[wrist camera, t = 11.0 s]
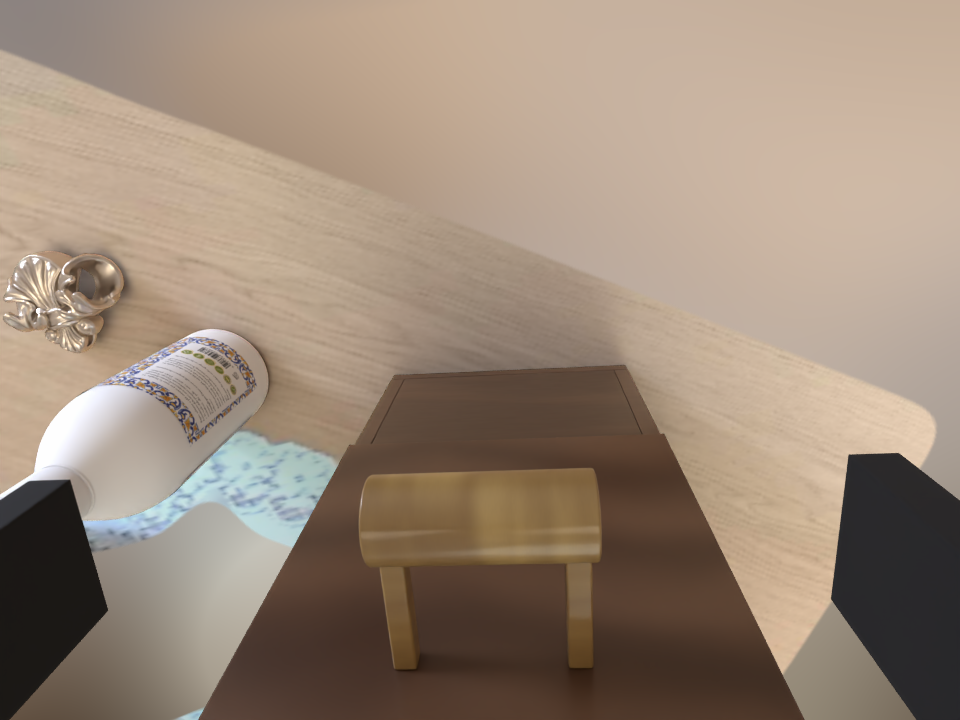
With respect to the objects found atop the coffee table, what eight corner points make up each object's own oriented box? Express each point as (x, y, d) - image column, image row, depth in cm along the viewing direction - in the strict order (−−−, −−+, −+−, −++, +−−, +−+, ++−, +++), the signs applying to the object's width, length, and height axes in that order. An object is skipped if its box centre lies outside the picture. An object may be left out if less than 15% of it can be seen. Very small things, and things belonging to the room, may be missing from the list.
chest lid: (809, 758, 16) (842, 522, 13) (195, 757, 17) (132, 540, 15) (663, 447, 31) (667, 315, 29) (351, 458, 33) (332, 332, 30)
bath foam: (181, 313, 43) (-82, 438, 24) (279, 343, 44) (95, 489, 25) (167, 403, 45) (-84, 582, 26) (261, 431, 46) (78, 628, 27)
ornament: (52, 358, 45) (13, 375, 41) (4, 265, 43) (-41, 274, 39) (152, 329, 44) (120, 344, 40) (108, 232, 42) (70, 239, 38)
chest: (624, 565, 47) (656, 687, 37) (416, 569, 49) (386, 688, 38) (625, 364, 43) (662, 436, 32) (393, 375, 44) (352, 447, 33)
